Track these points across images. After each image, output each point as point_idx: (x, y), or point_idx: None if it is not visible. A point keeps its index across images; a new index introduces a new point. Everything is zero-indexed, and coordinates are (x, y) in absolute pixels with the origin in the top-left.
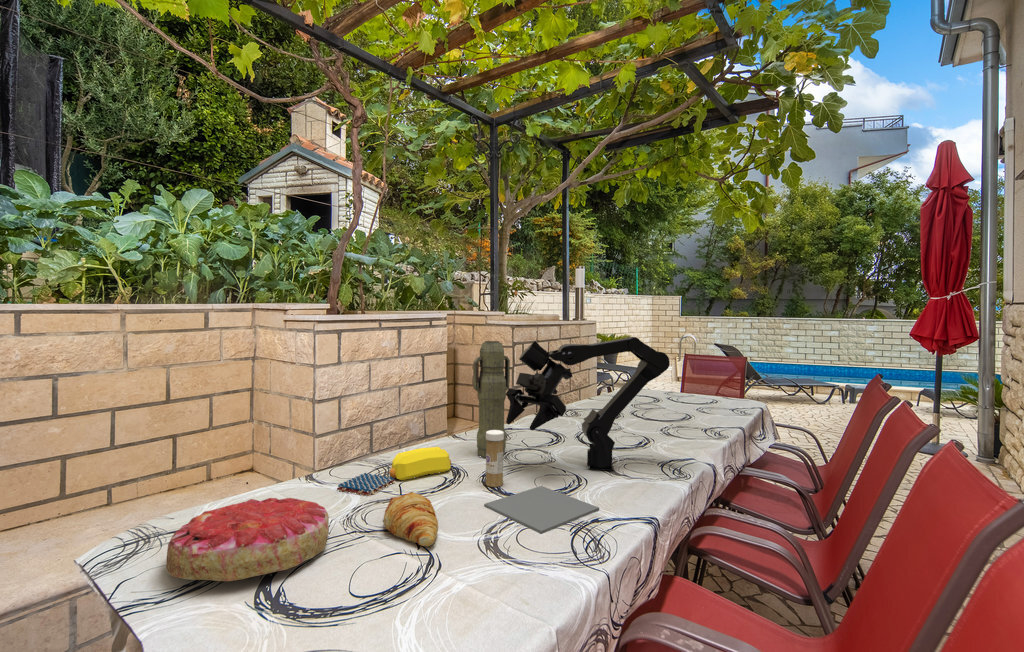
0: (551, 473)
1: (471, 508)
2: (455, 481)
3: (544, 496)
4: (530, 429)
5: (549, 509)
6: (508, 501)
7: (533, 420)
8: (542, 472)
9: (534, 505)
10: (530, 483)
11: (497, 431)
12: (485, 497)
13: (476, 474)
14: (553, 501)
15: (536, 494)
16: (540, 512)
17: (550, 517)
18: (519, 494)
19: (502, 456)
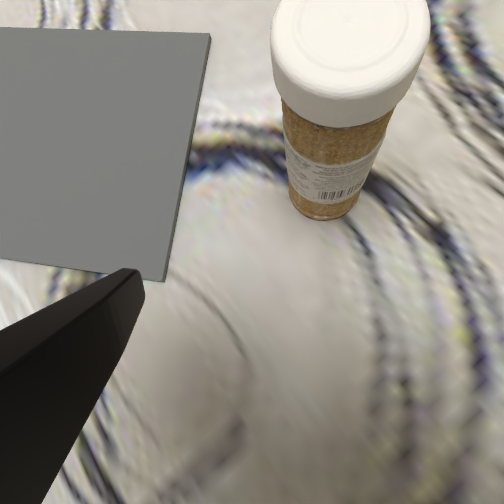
0: (232, 468)
1: (228, 4)
2: (466, 109)
3: (98, 204)
4: (140, 282)
5: (34, 134)
6: (163, 94)
7: (73, 312)
8: (272, 452)
9: (84, 126)
10: (225, 294)
11: (338, 41)
12: (257, 84)
13: (477, 224)
14: (53, 190)
15: (127, 200)
16: (45, 102)
17: (8, 96)
18: (172, 160)
19: (285, 145)
